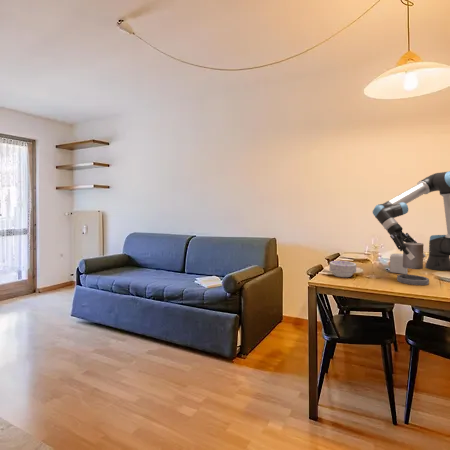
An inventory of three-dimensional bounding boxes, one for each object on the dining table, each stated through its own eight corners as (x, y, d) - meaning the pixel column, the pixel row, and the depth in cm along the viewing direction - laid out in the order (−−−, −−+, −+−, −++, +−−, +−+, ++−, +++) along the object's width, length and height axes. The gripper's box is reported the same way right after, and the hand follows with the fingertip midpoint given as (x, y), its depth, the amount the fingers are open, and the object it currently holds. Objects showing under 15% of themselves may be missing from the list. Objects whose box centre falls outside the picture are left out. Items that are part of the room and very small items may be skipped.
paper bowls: (338, 279, 179) (338, 265, 179) (324, 273, 194) (324, 261, 194) (361, 278, 182) (362, 264, 182) (346, 272, 197) (346, 260, 197)
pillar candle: (418, 266, 177) (419, 240, 176) (425, 269, 167) (426, 242, 166) (400, 265, 179) (400, 239, 178) (405, 269, 169) (406, 241, 169)
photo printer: (388, 272, 199) (389, 253, 199) (391, 271, 202) (392, 252, 201) (405, 274, 192) (406, 255, 191) (408, 274, 194) (409, 254, 193)
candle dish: (416, 278, 181) (416, 274, 181) (435, 285, 167) (435, 280, 166) (391, 278, 181) (391, 274, 181) (407, 285, 166) (408, 280, 166)
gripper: (399, 230, 191) (425, 260, 178) (375, 232, 180) (400, 263, 167) (408, 222, 186) (435, 252, 173) (384, 223, 175) (411, 255, 162)
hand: (418, 258), depth 170 cm, fingers closed on pillar candle, 9 cm apart
